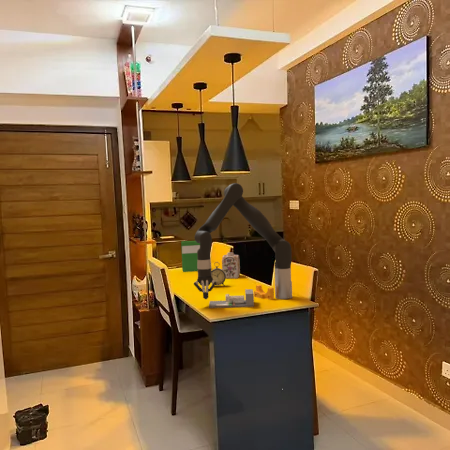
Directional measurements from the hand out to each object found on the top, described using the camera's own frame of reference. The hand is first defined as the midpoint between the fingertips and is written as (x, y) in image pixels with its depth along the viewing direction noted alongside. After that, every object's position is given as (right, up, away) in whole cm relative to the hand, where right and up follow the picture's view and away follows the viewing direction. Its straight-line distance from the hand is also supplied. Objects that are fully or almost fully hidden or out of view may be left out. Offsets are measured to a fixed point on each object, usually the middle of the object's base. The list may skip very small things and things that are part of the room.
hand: (205, 298), depth 227 cm
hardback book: (-15, +3, +112) cm, 114 cm away
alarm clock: (+6, -1, +49) cm, 50 cm away
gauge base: (+14, -3, 0) cm, 14 cm away
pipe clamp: (+33, -2, +14) cm, 36 cm away
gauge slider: (+16, -2, -1) cm, 16 cm away
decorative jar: (+15, +2, +80) cm, 81 cm away
